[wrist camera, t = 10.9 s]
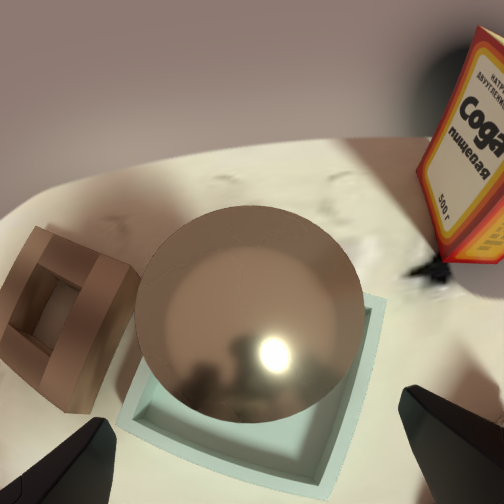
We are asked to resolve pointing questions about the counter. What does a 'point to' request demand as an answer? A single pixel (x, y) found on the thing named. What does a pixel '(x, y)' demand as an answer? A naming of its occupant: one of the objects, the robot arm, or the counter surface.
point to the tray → (262, 427)
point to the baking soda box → (470, 160)
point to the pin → (249, 314)
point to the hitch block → (77, 324)
